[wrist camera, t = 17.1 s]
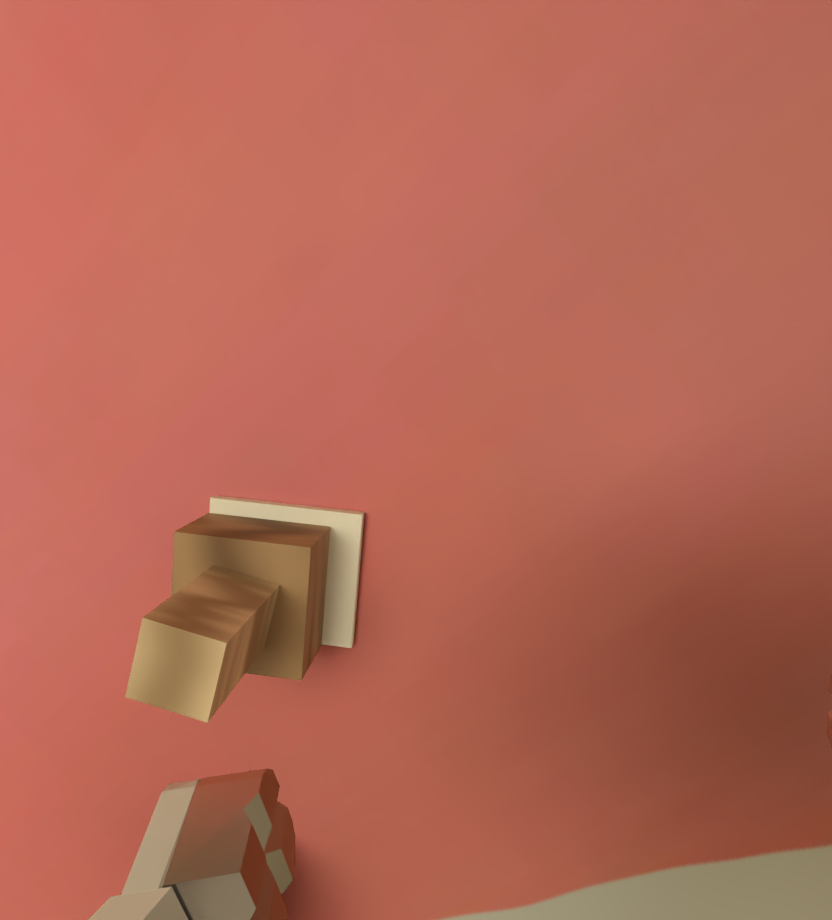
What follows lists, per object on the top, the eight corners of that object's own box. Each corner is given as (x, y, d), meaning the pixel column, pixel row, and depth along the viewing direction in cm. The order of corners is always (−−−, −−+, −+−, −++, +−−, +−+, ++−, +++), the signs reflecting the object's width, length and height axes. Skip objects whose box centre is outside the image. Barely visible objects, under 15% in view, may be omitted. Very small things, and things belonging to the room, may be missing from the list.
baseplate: (364, 512, 41) (362, 514, 41) (353, 642, 43) (351, 648, 42) (215, 495, 42) (210, 497, 41) (208, 624, 43) (204, 629, 43)
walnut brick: (330, 526, 41) (310, 547, 36) (321, 644, 42) (301, 680, 37) (209, 512, 42) (174, 531, 37) (204, 629, 43) (169, 663, 38)
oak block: (280, 584, 36) (226, 643, 29) (263, 648, 37) (207, 722, 29) (213, 564, 37) (142, 617, 29) (198, 628, 37) (125, 697, 29)
